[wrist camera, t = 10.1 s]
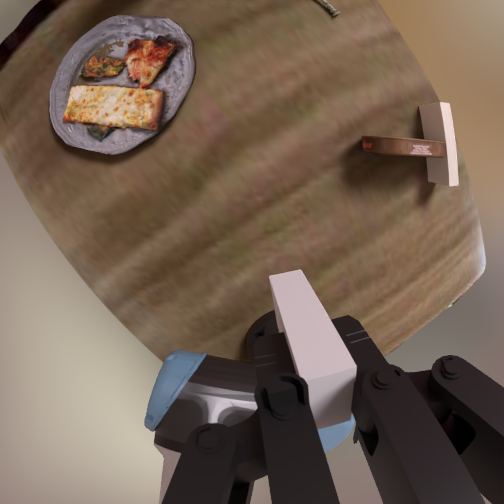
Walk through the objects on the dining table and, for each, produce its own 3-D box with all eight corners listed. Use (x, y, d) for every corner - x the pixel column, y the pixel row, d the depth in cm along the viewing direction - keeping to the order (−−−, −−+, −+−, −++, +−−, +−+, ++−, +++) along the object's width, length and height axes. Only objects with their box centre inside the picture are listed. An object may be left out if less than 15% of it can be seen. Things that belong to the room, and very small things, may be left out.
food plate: (220, 30, 30) (218, 20, 27) (165, 168, 37) (158, 169, 34) (89, 20, 26) (81, 13, 23) (44, 138, 33) (32, 138, 30)
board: (437, 180, 40) (458, 185, 34) (428, 181, 40) (449, 186, 34) (428, 106, 35) (449, 103, 30) (418, 105, 35) (439, 102, 30)
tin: (424, 139, 38) (455, 139, 30) (424, 156, 39) (456, 159, 31) (351, 134, 37) (378, 131, 29) (353, 154, 38) (380, 155, 30)
